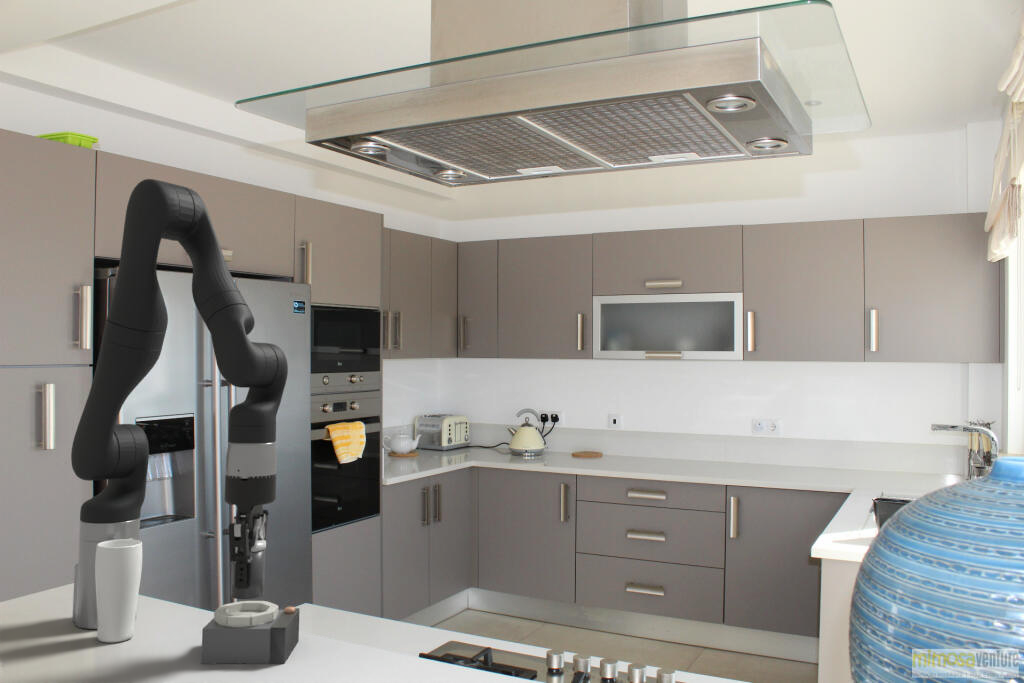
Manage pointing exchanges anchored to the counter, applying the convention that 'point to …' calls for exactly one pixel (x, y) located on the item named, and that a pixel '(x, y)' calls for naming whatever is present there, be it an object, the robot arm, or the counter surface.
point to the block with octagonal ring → (250, 634)
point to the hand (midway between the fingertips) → (247, 583)
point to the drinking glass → (117, 588)
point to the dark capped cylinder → (252, 574)
